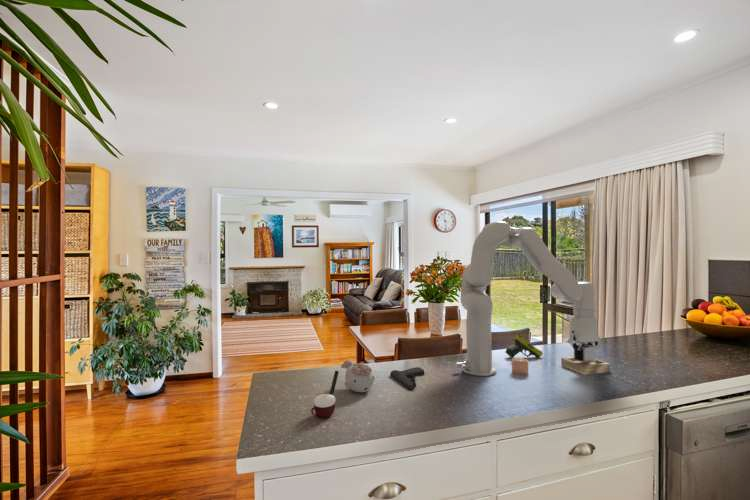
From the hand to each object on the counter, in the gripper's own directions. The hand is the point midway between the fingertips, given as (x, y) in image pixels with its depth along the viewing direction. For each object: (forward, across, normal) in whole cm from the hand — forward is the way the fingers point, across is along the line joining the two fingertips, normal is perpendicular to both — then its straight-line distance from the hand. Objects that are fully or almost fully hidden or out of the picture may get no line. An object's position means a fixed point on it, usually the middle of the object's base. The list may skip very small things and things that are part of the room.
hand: (584, 358), depth 154 cm
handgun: (+5, +69, -7) cm, 69 cm away
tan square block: (+4, +27, -3) cm, 27 cm away
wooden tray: (+4, 0, 0) cm, 4 cm away
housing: (+1, 0, 0) cm, 1 cm away
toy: (+4, +91, -4) cm, 91 cm away
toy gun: (+4, +13, -21) cm, 25 cm away
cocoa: (+4, +104, +15) cm, 105 cm away
